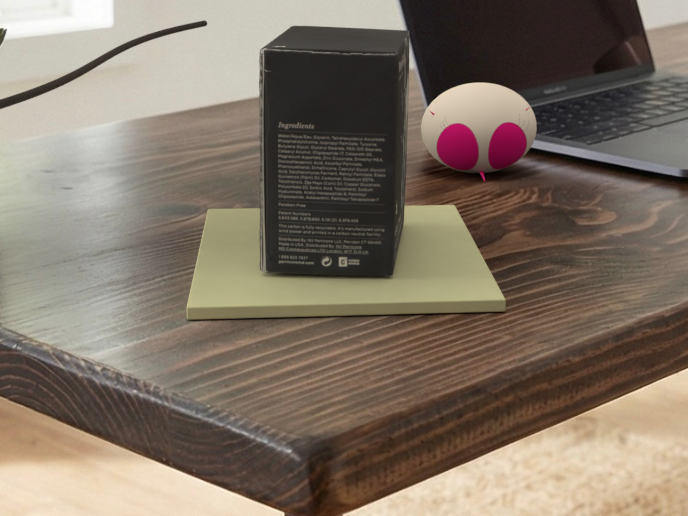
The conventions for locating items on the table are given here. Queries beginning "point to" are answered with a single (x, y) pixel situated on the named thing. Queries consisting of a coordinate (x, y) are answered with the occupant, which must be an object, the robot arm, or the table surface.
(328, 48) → the box
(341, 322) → the table surface
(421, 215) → the mat
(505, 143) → the stress ball
